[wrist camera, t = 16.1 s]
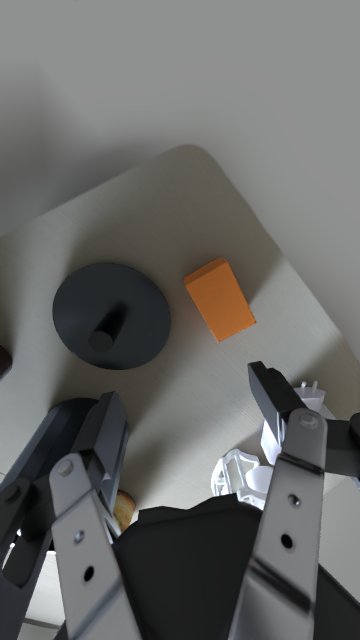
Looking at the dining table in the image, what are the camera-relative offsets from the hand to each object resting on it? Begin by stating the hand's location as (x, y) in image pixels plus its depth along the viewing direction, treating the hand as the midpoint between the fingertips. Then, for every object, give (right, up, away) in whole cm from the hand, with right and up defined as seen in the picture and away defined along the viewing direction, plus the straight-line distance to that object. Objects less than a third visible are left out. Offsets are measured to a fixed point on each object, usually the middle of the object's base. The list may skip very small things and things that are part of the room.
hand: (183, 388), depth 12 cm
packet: (+4, +7, +14) cm, 17 cm away
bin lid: (-9, +4, +14) cm, 17 cm away
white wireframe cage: (+11, -29, +30) cm, 44 cm away
